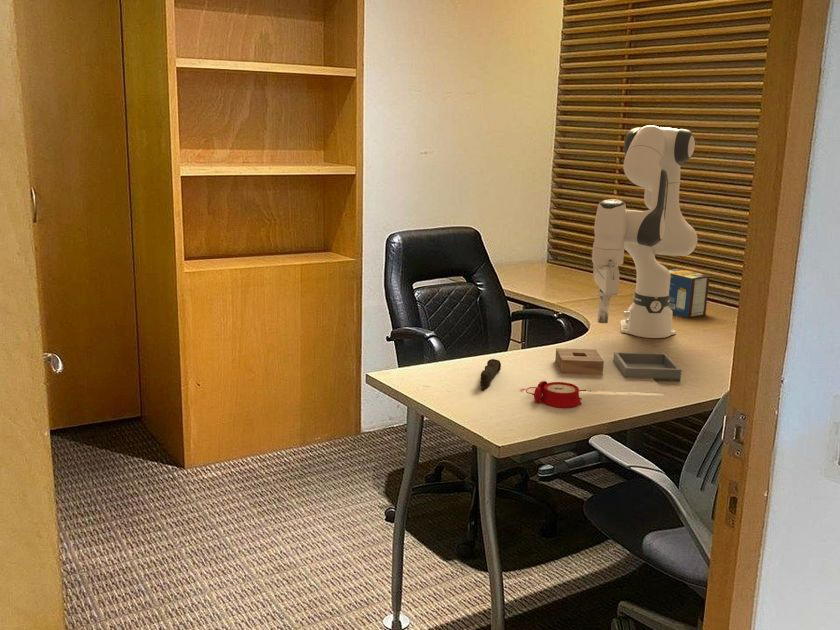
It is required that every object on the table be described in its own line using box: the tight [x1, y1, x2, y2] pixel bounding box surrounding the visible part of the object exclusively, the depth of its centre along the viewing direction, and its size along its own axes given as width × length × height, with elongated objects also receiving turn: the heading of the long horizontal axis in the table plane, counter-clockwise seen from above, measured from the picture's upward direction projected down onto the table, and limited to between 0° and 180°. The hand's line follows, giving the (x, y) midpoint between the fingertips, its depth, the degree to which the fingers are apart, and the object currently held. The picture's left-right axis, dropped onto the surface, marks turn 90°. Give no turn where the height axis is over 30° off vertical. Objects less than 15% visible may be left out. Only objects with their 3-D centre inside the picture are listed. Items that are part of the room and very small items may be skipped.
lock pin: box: [596, 290, 613, 324], centre depth 241 cm, size 4×4×9 cm
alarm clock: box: [525, 380, 587, 409], centre depth 218 cm, size 10×6×15 cm
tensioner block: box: [555, 347, 605, 375], centre depth 244 cm, size 12×12×5 cm
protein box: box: [668, 268, 711, 319], centre depth 317 cm, size 10×15×16 cm
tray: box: [612, 351, 683, 382], centre depth 244 cm, size 16×16×4 cm
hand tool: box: [479, 358, 502, 391], centre depth 233 cm, size 19×4×5 cm, turn 163°
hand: (604, 303), depth 240 cm, fingers closed on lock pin, 3 cm apart
